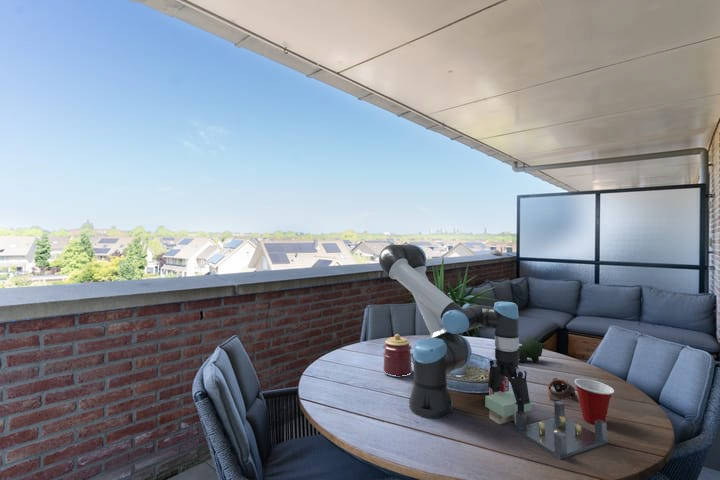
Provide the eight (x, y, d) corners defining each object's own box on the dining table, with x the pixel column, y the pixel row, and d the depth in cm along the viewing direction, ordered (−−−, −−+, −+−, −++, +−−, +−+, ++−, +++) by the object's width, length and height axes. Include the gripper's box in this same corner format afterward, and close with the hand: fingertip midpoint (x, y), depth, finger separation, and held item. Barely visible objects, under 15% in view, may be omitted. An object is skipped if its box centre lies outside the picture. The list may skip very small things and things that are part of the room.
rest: (499, 424, 108) (499, 414, 108) (489, 417, 112) (489, 408, 112) (526, 416, 113) (526, 407, 113) (516, 411, 117) (515, 402, 117)
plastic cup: (617, 433, 102) (616, 394, 102) (575, 424, 108) (574, 386, 108) (613, 418, 111) (612, 382, 112) (574, 410, 117) (574, 375, 117)
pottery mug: (585, 406, 121) (577, 388, 120) (560, 416, 122) (552, 398, 121) (567, 385, 133) (559, 368, 131) (544, 394, 134) (536, 378, 133)
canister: (416, 371, 156) (415, 332, 157) (404, 380, 145) (404, 339, 146) (391, 365, 163) (391, 329, 164) (378, 374, 152) (378, 335, 153)
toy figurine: (501, 367, 165) (554, 363, 163) (497, 329, 166) (549, 324, 164) (495, 361, 174) (544, 357, 173) (491, 324, 175) (540, 320, 173)
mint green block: (503, 417, 106) (503, 406, 107) (485, 406, 114) (485, 396, 114) (531, 410, 111) (530, 399, 111) (511, 400, 118) (511, 390, 119)
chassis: (560, 459, 90) (559, 436, 90) (515, 431, 104) (514, 412, 104) (608, 442, 97) (607, 421, 98) (559, 419, 111) (559, 400, 111)
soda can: (509, 396, 128) (508, 365, 129) (509, 404, 122) (508, 371, 122) (489, 393, 131) (489, 362, 132) (488, 400, 125) (487, 368, 125)
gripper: (542, 355, 105) (543, 429, 104) (492, 339, 124) (493, 401, 123) (524, 359, 102) (526, 434, 101) (476, 341, 121) (477, 405, 121)
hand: (508, 416), depth 112 cm, fingers closed on mint green block, 8 cm apart
